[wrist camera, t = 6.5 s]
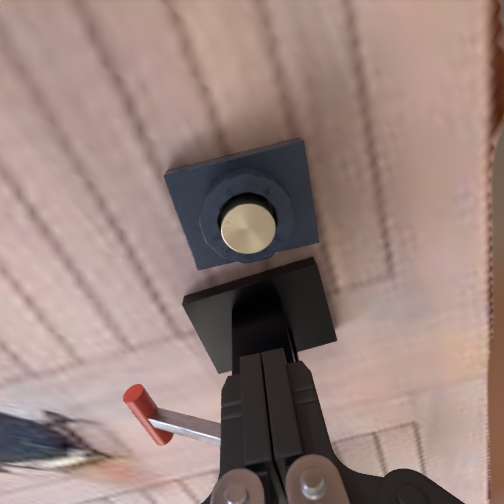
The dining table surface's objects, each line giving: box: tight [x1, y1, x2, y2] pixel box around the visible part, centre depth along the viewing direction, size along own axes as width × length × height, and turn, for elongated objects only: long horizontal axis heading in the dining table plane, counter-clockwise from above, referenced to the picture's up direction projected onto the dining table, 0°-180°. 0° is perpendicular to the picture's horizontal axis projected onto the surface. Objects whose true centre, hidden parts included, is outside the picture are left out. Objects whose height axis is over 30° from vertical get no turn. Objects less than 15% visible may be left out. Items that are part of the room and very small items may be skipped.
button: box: [221, 195, 276, 254], centre depth 23 cm, size 4×4×2 cm
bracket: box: [182, 257, 337, 504], centre depth 25 cm, size 12×9×15 cm
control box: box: [164, 138, 319, 270], centre depth 25 cm, size 10×8×4 cm
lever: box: [123, 384, 221, 447], centre depth 23 cm, size 13×5×2 cm, turn 108°
